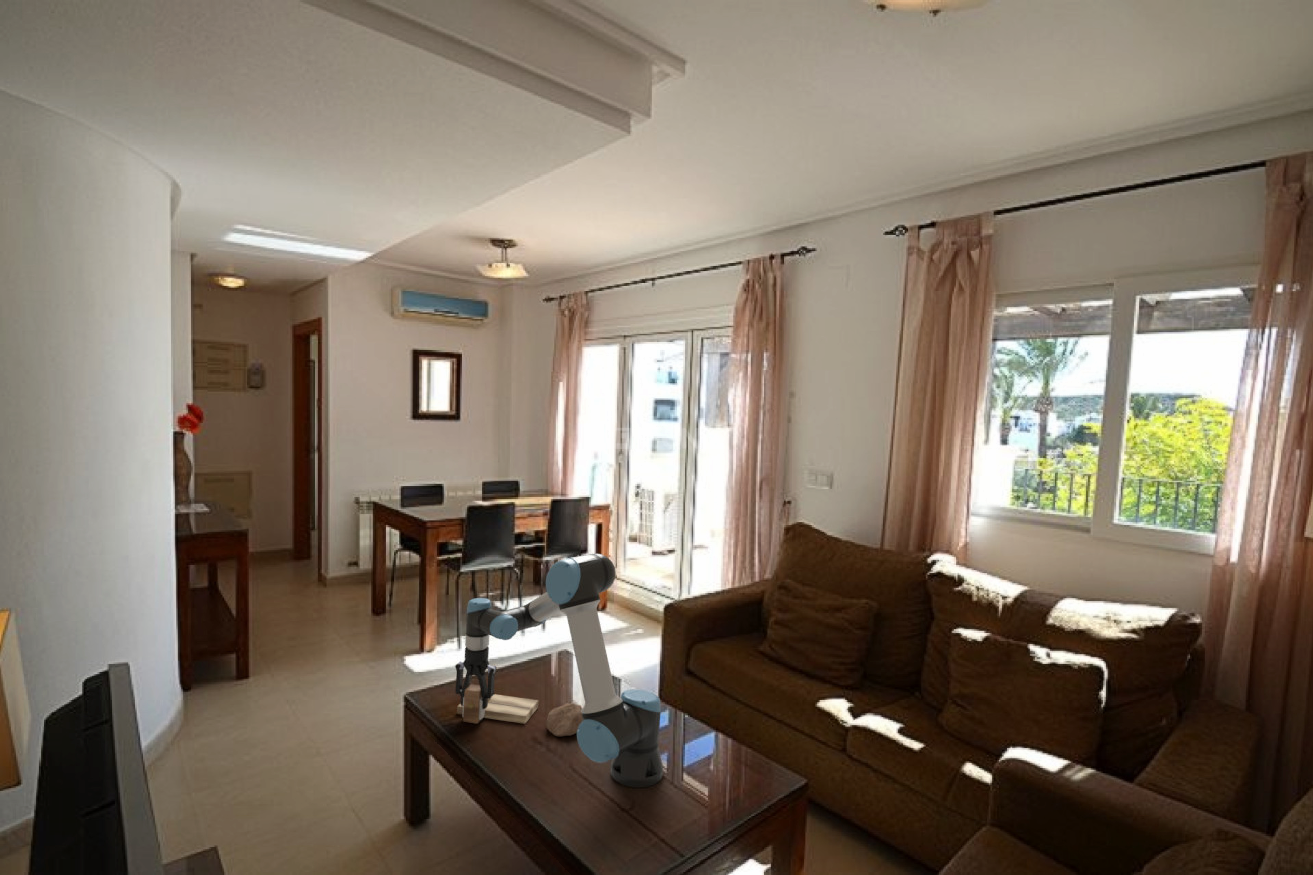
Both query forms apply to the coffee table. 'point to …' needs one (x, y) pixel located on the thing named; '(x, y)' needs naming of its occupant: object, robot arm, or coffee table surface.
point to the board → (508, 708)
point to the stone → (564, 719)
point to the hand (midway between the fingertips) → (473, 716)
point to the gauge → (472, 704)
